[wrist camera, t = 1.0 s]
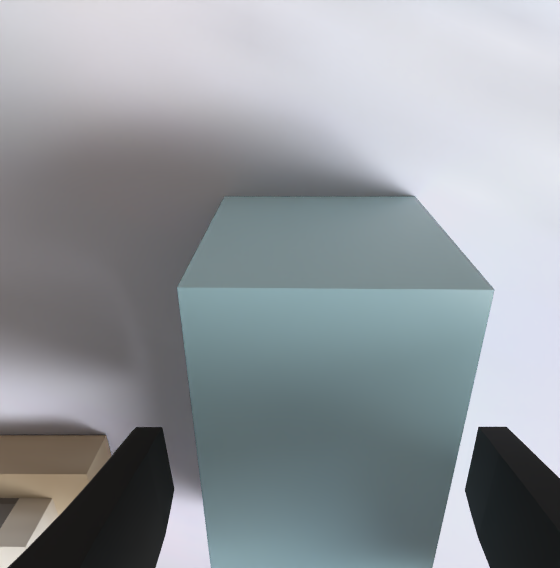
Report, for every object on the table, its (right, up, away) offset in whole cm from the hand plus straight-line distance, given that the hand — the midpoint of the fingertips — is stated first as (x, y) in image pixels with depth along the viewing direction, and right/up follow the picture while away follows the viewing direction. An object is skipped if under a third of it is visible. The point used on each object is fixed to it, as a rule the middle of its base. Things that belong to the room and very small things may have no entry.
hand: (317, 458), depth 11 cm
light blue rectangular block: (0, +1, +3) cm, 3 cm away
